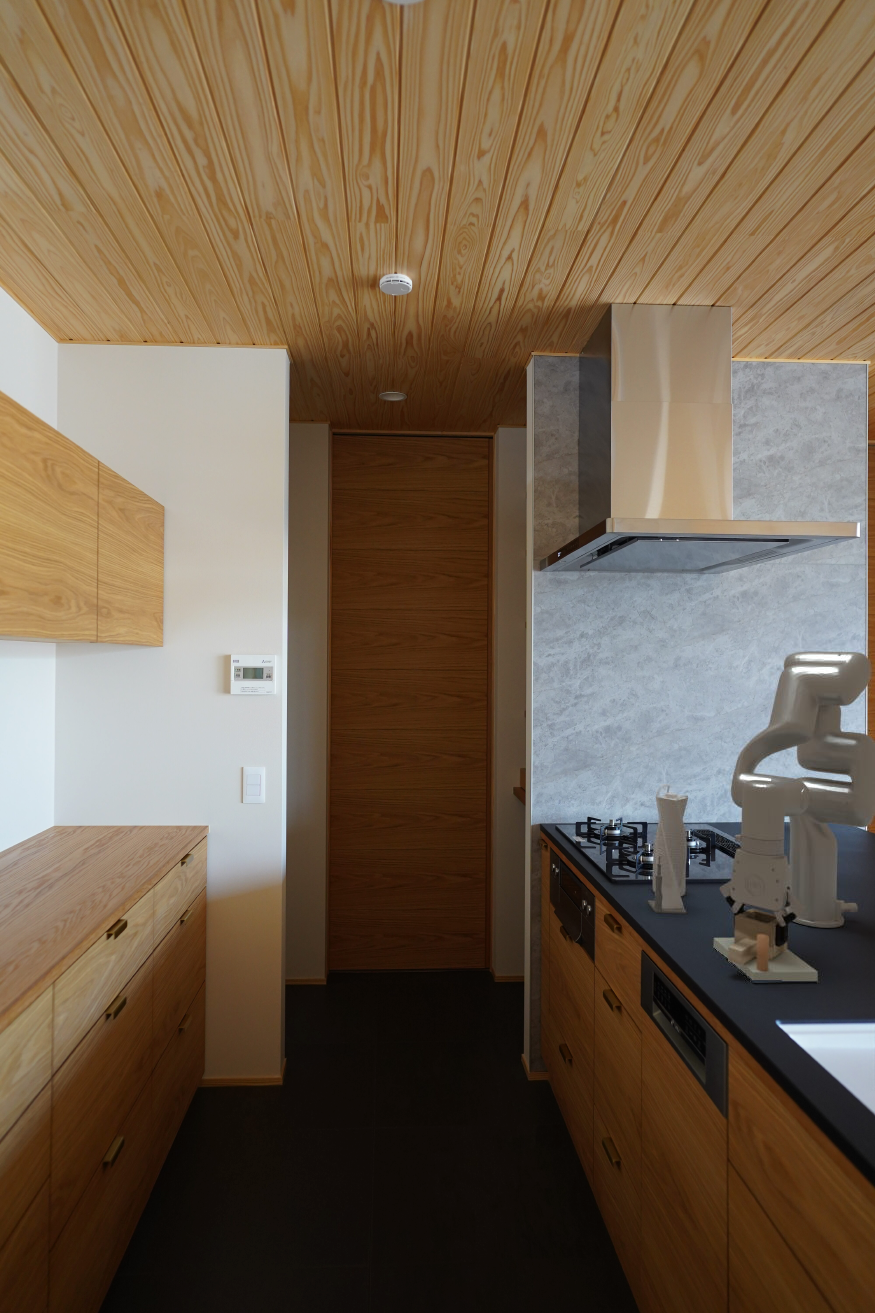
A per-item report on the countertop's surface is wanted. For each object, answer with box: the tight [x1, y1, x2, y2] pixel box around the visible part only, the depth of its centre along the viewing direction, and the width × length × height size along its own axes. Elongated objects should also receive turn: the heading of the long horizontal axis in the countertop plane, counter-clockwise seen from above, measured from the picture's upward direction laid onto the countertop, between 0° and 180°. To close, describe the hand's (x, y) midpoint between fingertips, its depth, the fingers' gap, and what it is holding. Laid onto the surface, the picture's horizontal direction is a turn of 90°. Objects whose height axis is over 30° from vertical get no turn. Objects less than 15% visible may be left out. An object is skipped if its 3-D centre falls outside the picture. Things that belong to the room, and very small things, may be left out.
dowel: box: [756, 934, 769, 972], centre depth 133 cm, size 2×2×6 cm
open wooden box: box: [727, 907, 788, 965], centre depth 139 cm, size 14×7×6 cm, turn 132°
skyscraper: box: [647, 784, 689, 915], centre depth 171 cm, size 8×8×28 cm
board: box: [713, 937, 819, 982], centre depth 140 cm, size 12×16×2 cm
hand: (760, 938), depth 141 cm, fingers closed on open wooden box, 7 cm apart
